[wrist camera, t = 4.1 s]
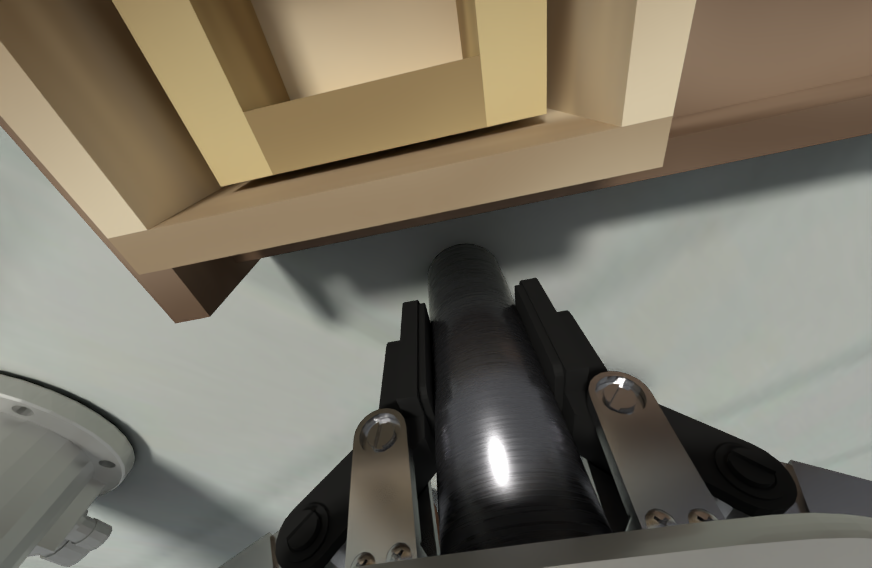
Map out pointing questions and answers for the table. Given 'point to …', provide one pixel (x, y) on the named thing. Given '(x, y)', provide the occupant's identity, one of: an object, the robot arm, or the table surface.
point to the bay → (690, 128)
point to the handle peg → (497, 419)
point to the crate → (329, 109)
